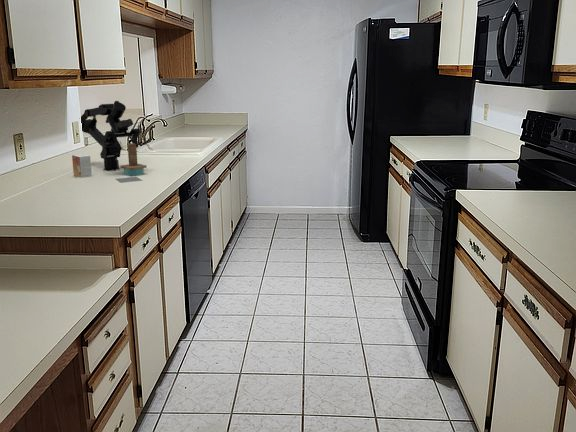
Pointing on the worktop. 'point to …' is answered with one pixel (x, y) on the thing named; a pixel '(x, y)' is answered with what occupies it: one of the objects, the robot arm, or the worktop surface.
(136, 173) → the bowl
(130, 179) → the mat
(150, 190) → the worktop surface
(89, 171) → the small box
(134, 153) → the brown upright piece
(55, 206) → the worktop surface
